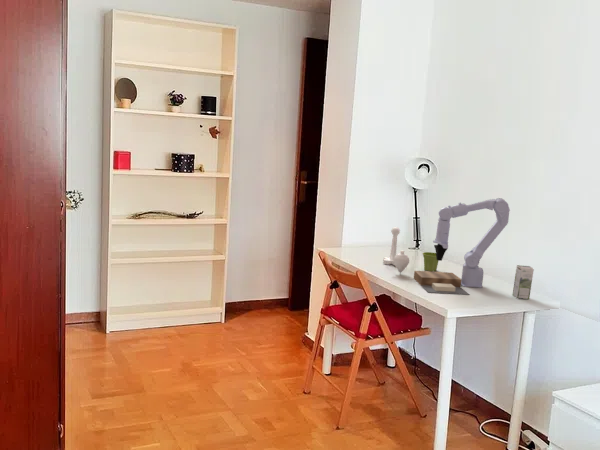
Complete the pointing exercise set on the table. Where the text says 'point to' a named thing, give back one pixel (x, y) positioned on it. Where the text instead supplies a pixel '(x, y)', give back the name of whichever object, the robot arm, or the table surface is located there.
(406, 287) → the table surface
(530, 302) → the table surface
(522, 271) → the syrup box
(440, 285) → the card
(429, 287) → the mat
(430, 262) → the plant pot
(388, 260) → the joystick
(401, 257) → the spinning top
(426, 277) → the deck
